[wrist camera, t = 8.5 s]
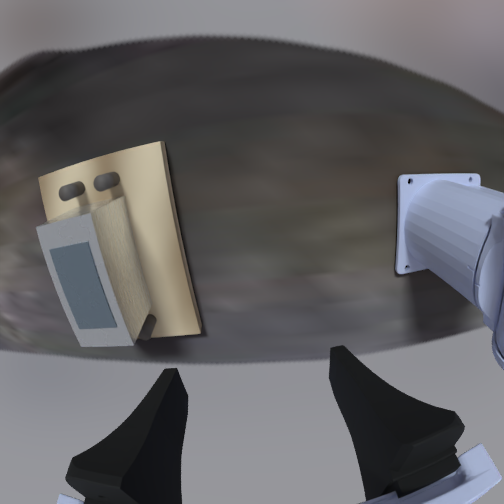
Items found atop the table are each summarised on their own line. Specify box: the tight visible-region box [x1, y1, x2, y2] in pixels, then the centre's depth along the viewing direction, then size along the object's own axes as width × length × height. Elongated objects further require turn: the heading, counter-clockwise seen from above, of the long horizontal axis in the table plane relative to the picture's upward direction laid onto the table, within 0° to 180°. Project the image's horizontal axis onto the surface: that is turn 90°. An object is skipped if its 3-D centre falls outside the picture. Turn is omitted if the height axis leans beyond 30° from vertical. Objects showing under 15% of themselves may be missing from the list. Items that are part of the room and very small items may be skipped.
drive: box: [36, 196, 153, 347], centre depth 16 cm, size 4×8×5 cm, turn 7°
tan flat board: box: [39, 141, 202, 341], centre depth 18 cm, size 10×14×3 cm
